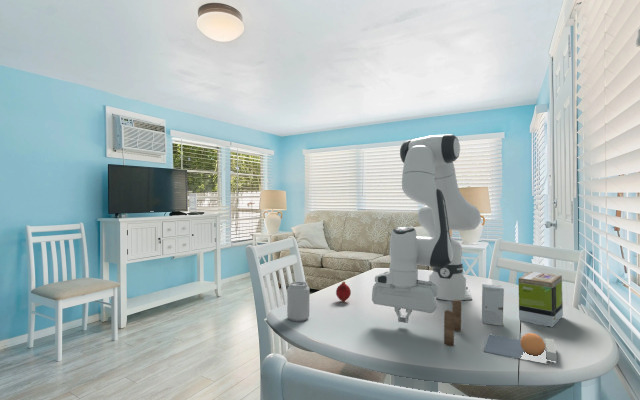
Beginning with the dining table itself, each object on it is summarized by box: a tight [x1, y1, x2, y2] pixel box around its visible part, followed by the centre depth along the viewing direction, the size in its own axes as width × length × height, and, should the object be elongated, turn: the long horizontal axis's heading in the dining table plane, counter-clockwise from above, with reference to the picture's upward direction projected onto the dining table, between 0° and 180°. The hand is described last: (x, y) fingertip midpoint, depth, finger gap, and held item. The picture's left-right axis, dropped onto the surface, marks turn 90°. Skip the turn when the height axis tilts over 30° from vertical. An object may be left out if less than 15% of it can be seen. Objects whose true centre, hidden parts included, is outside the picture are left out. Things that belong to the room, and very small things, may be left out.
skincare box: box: [481, 283, 505, 327], centre depth 115 cm, size 6×4×12 cm
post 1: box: [443, 309, 455, 347], centre depth 98 cm, size 3×3×9 cm
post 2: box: [451, 300, 462, 332], centre depth 109 cm, size 3×3×9 cm
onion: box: [335, 280, 352, 303], centre depth 139 cm, size 6×6×8 cm
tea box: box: [518, 271, 564, 328], centre depth 120 cm, size 15×10×15 cm, turn 134°
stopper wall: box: [544, 337, 557, 362], centre depth 91 cm, size 10×2×2 cm, turn 149°
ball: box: [520, 332, 545, 356], centre depth 91 cm, size 6×6×6 cm
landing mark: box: [483, 333, 525, 359], centre depth 95 cm, size 14×14×1 cm
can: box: [286, 281, 311, 322], centre depth 119 cm, size 8×8×12 cm
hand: (403, 322), depth 111 cm, fingers closed
